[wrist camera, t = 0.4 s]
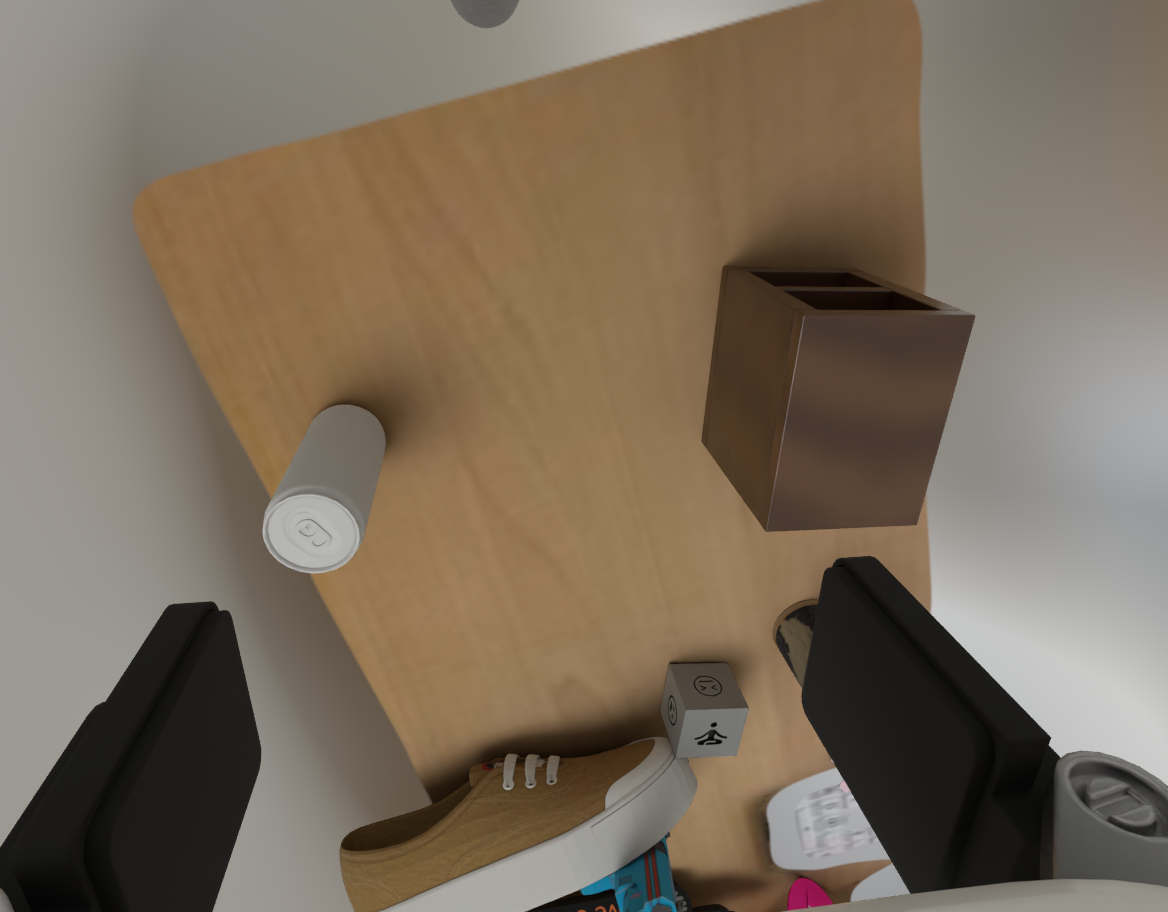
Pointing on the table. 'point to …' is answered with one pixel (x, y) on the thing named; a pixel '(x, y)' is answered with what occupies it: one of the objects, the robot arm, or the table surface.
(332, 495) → the beverage can
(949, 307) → the divided wooden organizer
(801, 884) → the figurine
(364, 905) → the sneaker
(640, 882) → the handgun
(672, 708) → the dice cube
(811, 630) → the mug
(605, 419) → the table surface
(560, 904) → the decorative sign
